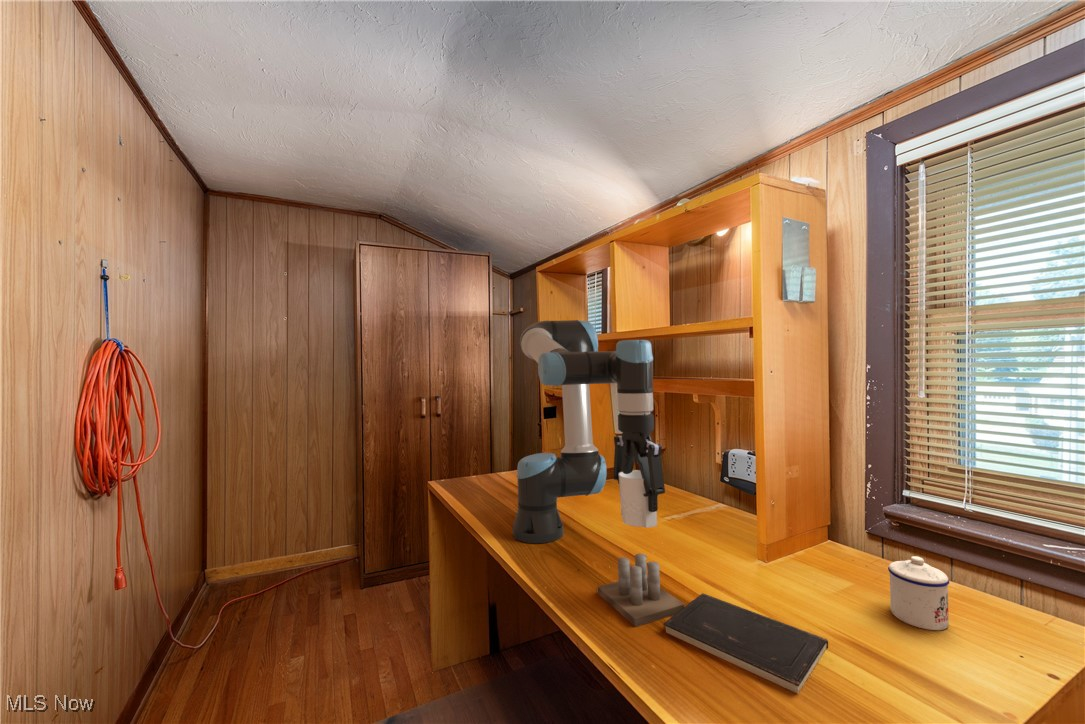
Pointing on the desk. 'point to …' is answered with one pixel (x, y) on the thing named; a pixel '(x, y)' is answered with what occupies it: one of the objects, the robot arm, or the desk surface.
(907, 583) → the lidded ceramic jar
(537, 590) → the desk surface
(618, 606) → the peg stand
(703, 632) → the hardcover book
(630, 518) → the white cup
